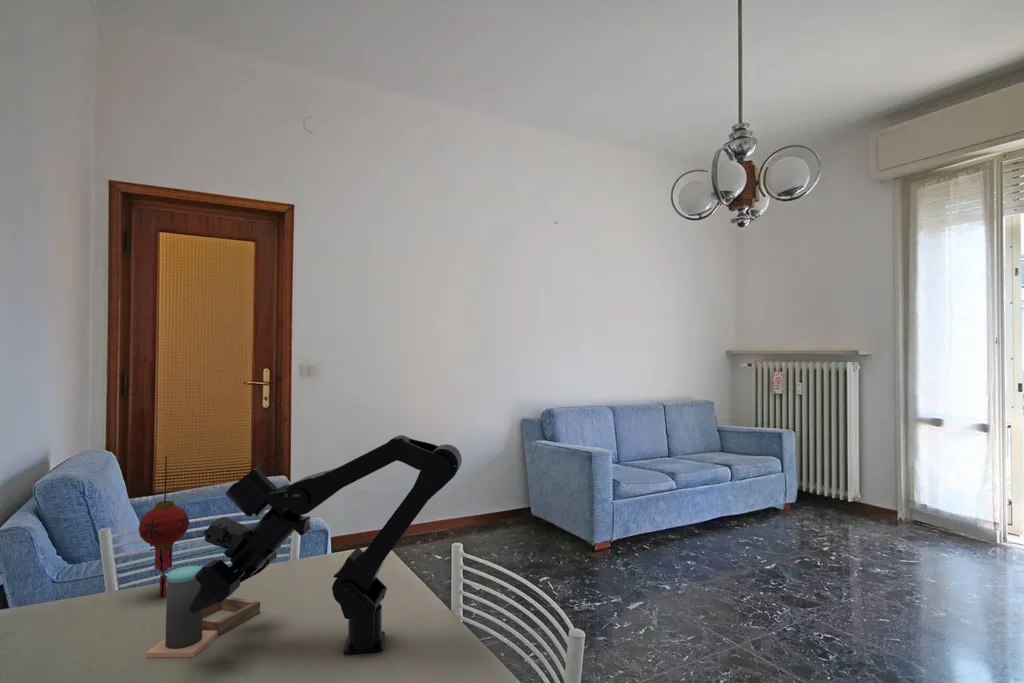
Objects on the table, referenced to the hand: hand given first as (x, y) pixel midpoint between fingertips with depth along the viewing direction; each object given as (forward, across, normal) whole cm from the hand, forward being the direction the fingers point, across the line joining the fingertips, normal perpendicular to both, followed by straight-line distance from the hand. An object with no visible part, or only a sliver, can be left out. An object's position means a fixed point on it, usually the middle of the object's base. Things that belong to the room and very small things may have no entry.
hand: (206, 600), depth 98 cm
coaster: (+8, 0, +3) cm, 9 cm away
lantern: (+21, -22, -10) cm, 31 cm away
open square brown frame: (+8, -10, +3) cm, 13 cm away
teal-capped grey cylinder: (+8, 0, +2) cm, 8 cm away
